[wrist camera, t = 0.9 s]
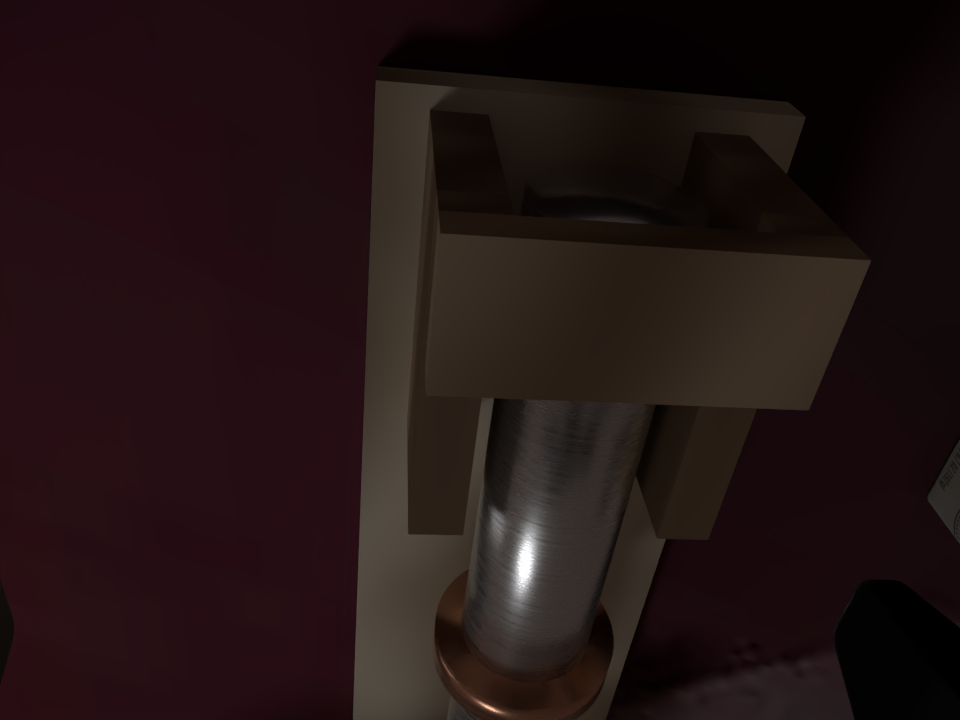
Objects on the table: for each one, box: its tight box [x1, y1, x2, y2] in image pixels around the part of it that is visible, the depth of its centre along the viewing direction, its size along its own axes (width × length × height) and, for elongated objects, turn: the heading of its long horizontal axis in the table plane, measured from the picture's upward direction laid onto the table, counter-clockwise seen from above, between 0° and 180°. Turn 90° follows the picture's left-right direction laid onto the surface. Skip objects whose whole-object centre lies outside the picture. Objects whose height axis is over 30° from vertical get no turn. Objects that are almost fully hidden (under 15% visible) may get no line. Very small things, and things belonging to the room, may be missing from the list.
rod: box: [432, 164, 709, 720], centre depth 21 cm, size 5×19×5 cm, turn 174°
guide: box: [353, 66, 871, 720], centre depth 23 cm, size 9×27×7 cm, turn 174°
